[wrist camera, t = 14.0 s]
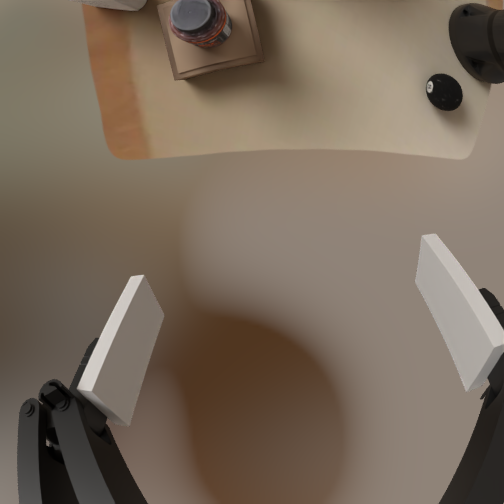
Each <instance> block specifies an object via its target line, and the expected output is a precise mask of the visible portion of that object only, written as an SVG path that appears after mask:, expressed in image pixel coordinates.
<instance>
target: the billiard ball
mask: <svg viewBox="0 0 504 504" xmlns="http://www.w3.org/2000/svg"><path fill="white" fill-rule="evenodd" d="M426 92H427V96H428V98H429V100H430V102H431V103H432V104H433V105H434V106H436V107H437V108H439V109H441V110H445V111H451V110H455V109H456V108H458V107H459V105H460V104H461V102H462V97H463V94H462V89H461V86H460V85H459V83H458V82H457V81H456V80H455V79H454V78H453V77H451V76H449V75H446V74H435V75H433V76H432V77H431V78H430V79H429V80H428V82H427V86H426Z"/></svg>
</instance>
